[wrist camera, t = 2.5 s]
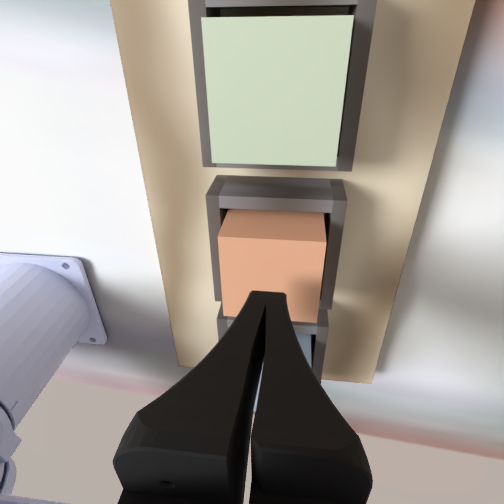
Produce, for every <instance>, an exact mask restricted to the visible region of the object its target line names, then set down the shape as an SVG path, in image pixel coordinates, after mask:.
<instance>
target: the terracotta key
mask: <svg viewBox="0 0 504 504" xmlns="http://www.w3.org/2000/svg"><path fill="white" fill-rule="evenodd" d="M218 249H219V263H220V276H221V289H222V302H223V316H232V317H237V315H238V314H239V312H240V310H241V309H242V307H243V305H244V303H245V302H246V300H247V298H248V296H249V293H250V292H251V291H252V290H255V291H270V292H284V293H285V294H286V295H287V306H288V311H289V315H290V319H291V321H298V322H311V323H317V317H318V309H319V300H320V292H321V284H322V275H323V267H324V259H325V250H326V233H325V223H324V213H323V212H299V211H276V210H253V209H230V208H229V209H228V211H227V214H226V216H225V219H224V221H223V224H222V226H221V229H220V232H219V234H218Z"/></svg>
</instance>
